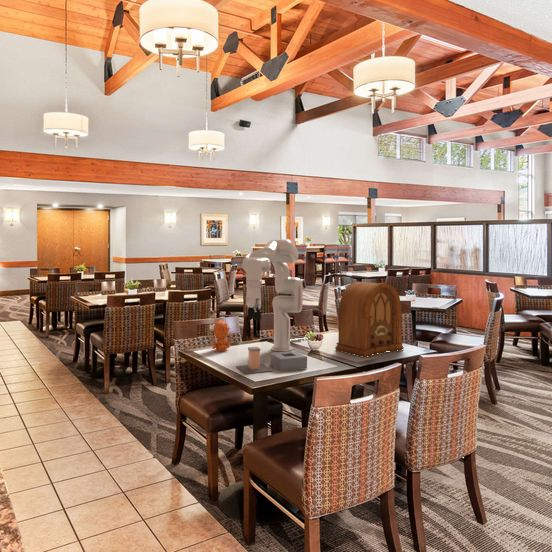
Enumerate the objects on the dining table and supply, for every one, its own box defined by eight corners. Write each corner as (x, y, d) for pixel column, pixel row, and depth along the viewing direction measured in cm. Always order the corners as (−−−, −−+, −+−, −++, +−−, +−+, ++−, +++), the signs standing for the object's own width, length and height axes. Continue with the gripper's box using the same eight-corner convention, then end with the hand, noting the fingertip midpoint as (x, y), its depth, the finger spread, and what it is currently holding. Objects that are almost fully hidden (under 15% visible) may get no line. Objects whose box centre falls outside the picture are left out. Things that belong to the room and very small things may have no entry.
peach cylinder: (248, 367, 236) (248, 347, 236) (257, 366, 238) (257, 346, 238) (251, 369, 232) (251, 349, 231) (260, 368, 234) (260, 348, 233)
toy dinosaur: (227, 347, 285) (227, 317, 283) (233, 351, 275) (233, 320, 274) (209, 349, 280) (208, 319, 279) (215, 353, 270) (214, 321, 269)
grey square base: (270, 364, 245) (270, 353, 244) (295, 362, 250) (295, 350, 249) (280, 371, 232) (280, 359, 231) (307, 368, 237) (307, 356, 236)
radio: (364, 358, 260) (365, 284, 257) (335, 350, 279) (335, 282, 276) (403, 350, 279) (405, 282, 277) (373, 343, 298) (374, 279, 296)
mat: (236, 367, 239) (236, 366, 239) (262, 364, 244) (262, 363, 244) (244, 374, 226) (244, 373, 226) (272, 371, 231) (272, 370, 231)
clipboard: (283, 332, 332) (311, 338, 308) (283, 334, 332) (311, 341, 308) (260, 335, 320) (288, 342, 296) (260, 337, 320) (288, 344, 296)
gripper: (241, 282, 239) (241, 316, 240) (252, 285, 223) (252, 322, 224) (255, 282, 242) (255, 315, 243) (267, 285, 226) (267, 321, 227)
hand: (254, 318), depth 234 cm, fingers open, 9 cm apart
